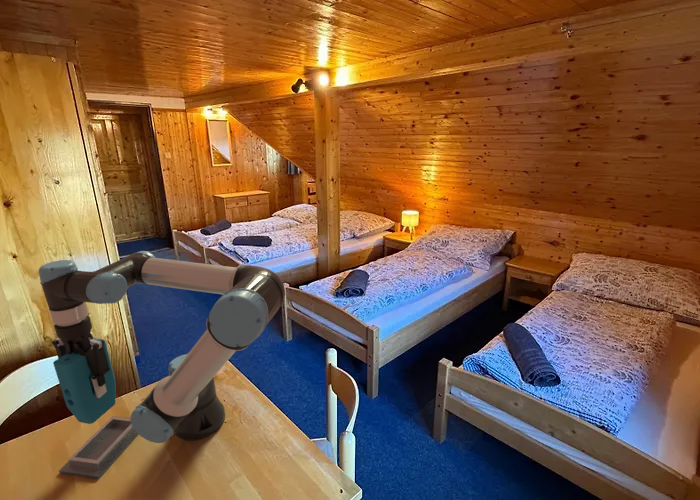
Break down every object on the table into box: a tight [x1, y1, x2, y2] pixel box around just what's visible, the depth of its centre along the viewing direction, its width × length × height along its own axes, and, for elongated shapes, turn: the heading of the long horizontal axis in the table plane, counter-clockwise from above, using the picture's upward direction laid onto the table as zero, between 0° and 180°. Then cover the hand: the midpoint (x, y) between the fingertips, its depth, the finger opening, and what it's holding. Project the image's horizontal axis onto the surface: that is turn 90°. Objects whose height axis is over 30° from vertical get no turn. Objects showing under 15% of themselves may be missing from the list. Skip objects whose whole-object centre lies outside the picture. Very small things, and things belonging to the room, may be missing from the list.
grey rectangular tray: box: [58, 416, 140, 480], centre depth 109 cm, size 12×20×3 cm, turn 171°
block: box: [53, 337, 116, 425], centre depth 102 cm, size 12×5×20 cm, turn 167°
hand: (92, 393), depth 103 cm, fingers closed on block, 5 cm apart
